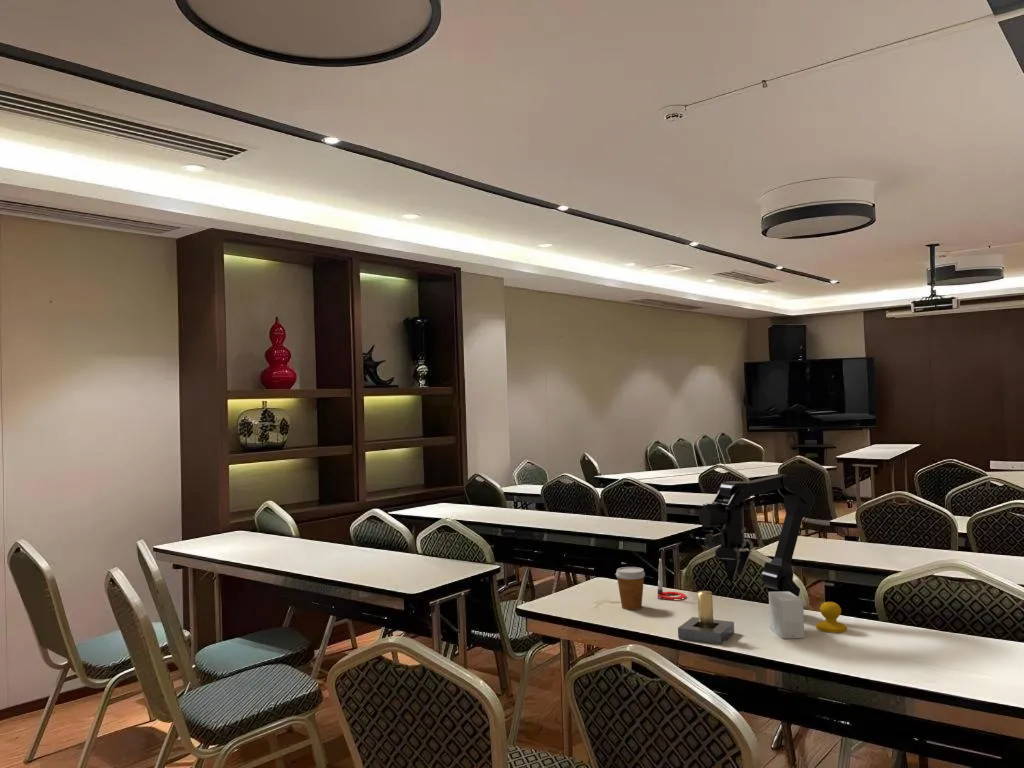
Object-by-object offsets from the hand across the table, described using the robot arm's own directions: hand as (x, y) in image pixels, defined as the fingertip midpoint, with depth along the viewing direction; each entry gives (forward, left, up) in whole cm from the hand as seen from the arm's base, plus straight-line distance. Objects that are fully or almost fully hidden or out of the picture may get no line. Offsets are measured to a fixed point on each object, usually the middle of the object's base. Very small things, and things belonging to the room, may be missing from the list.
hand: (735, 578), depth 223 cm
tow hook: (+28, -20, -13) cm, 37 cm away
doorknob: (-25, -5, -13) cm, 29 cm away
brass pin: (+4, +16, -13) cm, 21 cm away
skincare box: (-15, +4, -13) cm, 20 cm away
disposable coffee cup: (+35, -3, -13) cm, 38 cm away
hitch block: (+4, +16, -13) cm, 21 cm away
